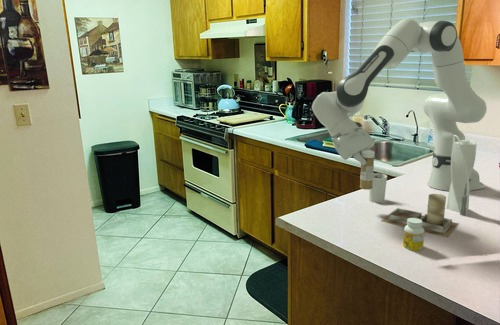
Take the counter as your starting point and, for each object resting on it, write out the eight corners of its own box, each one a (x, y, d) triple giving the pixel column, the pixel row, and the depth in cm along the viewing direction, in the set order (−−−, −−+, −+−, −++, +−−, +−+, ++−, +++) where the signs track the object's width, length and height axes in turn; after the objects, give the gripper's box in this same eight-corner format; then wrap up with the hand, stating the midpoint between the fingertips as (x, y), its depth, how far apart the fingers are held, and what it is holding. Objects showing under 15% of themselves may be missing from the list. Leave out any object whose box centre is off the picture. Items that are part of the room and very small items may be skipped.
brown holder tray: (380, 225, 134) (380, 216, 134) (394, 213, 144) (395, 204, 143) (447, 242, 121) (448, 231, 120) (458, 227, 131) (459, 218, 130)
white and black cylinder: (364, 200, 158) (365, 176, 155) (373, 196, 162) (374, 172, 160) (380, 204, 153) (381, 179, 151) (388, 199, 158) (390, 175, 155)
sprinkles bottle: (357, 186, 144) (359, 150, 141) (369, 185, 144) (371, 149, 141) (362, 190, 140) (364, 153, 136) (375, 189, 140) (377, 152, 137)
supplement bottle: (425, 255, 114) (428, 224, 111) (406, 255, 114) (409, 224, 111) (418, 246, 119) (420, 216, 116) (399, 247, 119) (402, 216, 117)
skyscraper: (439, 213, 143) (447, 136, 136) (449, 207, 148) (457, 132, 141) (463, 220, 137) (473, 139, 130) (474, 213, 142) (483, 136, 135)
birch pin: (437, 222, 132) (439, 193, 130) (446, 228, 127) (449, 198, 125) (423, 223, 131) (425, 194, 129) (431, 229, 127) (434, 199, 124)
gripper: (335, 130, 133) (362, 163, 130) (362, 122, 148) (387, 151, 145) (323, 142, 137) (349, 174, 134) (351, 132, 152) (374, 161, 149)
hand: (369, 162), depth 139 cm, fingers closed on sprinkles bottle, 4 cm apart
